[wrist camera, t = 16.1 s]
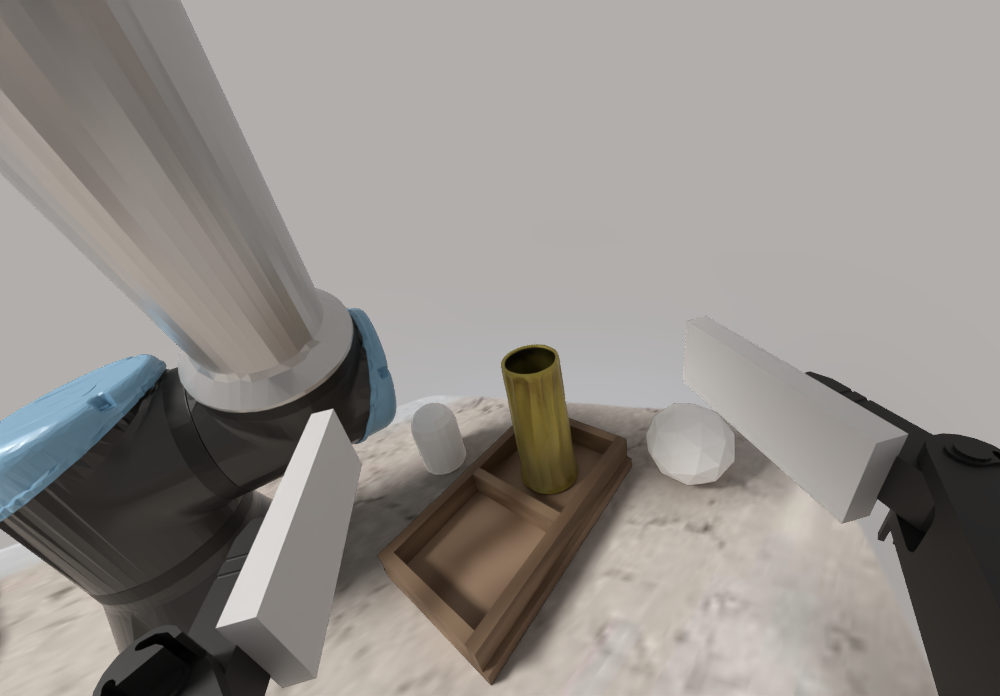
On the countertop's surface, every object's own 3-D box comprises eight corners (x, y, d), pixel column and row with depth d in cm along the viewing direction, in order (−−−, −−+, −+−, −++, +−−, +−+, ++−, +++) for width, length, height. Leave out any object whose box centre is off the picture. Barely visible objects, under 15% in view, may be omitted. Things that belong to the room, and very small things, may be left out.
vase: (572, 446, 42) (557, 337, 35) (584, 490, 37) (570, 371, 30) (519, 455, 42) (495, 348, 36) (523, 500, 37) (496, 384, 30)
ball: (666, 477, 41) (640, 407, 42) (748, 464, 37) (717, 388, 38) (656, 503, 34) (627, 419, 36) (755, 491, 30) (718, 397, 32)
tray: (388, 576, 34) (374, 552, 32) (534, 426, 48) (530, 404, 46) (491, 685, 26) (479, 660, 24) (631, 466, 40) (631, 440, 38)
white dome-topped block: (428, 445, 49) (410, 397, 45) (468, 440, 48) (453, 390, 44) (420, 477, 44) (399, 426, 40) (464, 471, 44) (447, 419, 40)
